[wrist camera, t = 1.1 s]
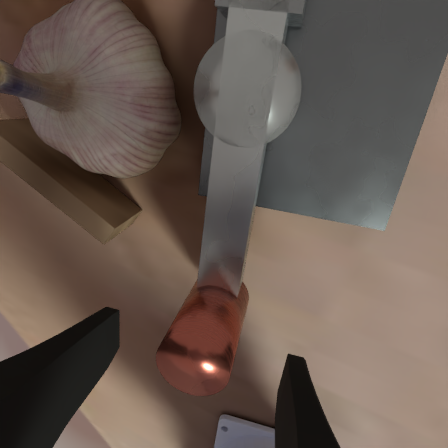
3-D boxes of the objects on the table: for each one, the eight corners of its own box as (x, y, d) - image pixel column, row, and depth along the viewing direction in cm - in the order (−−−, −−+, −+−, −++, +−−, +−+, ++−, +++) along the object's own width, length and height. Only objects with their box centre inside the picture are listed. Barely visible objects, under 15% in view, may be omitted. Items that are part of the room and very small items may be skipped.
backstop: (142, 209, 18) (114, 228, 16) (131, 224, 19) (103, 244, 16) (30, 118, 18) (-18, 120, 15) (23, 135, 18) (-25, 140, 16)
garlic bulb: (78, -16, 15) (-132, -129, 8) (218, 45, 15) (139, -12, 7) (54, 136, 18) (-112, 159, 11) (169, 190, 18) (79, 252, 10)
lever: (222, -56, 12) (167, -173, 7) (330, -49, 11) (357, -171, 6) (185, 303, 18) (142, 380, 13) (254, 320, 18) (237, 407, 13)
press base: (378, 221, 16) (387, 234, 14) (204, 188, 17) (195, 197, 15) (473, -56, 11) (501, -81, 10) (233, -71, 13) (224, -94, 11)
